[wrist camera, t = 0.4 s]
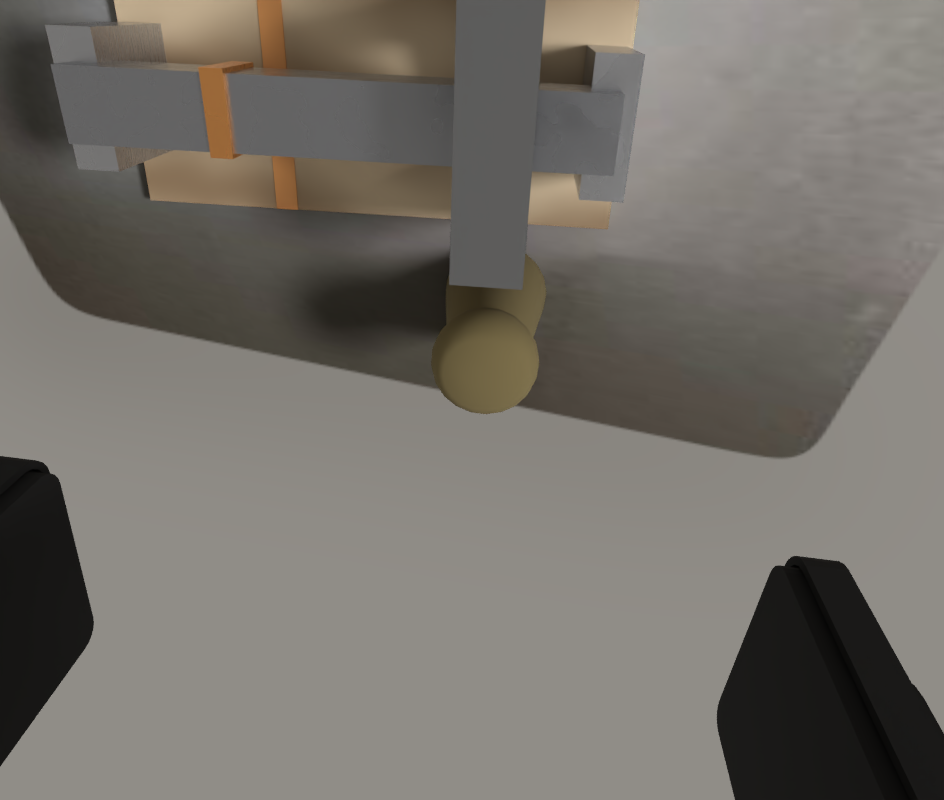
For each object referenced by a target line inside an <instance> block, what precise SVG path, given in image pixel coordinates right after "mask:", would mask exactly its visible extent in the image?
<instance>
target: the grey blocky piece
mask: <svg viewBox="0 0 944 800" xmlns="http://www.w3.org/2000/svg"><path fill="white" fill-rule="evenodd" d="M45 27H46V32H47V36H48V40H49V45H50V49H51V53H52V58H53V62H54V64H50V65H51V69H52V73H53V78H54V82H55V86H56V91H57V95H58V99H59V103H60V108H61V112H62V116H63V121H64V125H65V129H66V133H67V138H68V142H69V144H73V148H74V153H75V157H76V161H77V166H78V169H87V170H103V171H122V170H124V169H127V168H130V167H132V166H135V165H137V164H140V163H142V162H145V161H147V160H150V159H152V158H155V157H157V156H160V155H163V154H165V153H168V152H170V151H173V150H181V151H198V152H210V156H211V158H220V159H235V158H237V157H239V156H241V155H243V154H248V155H265V156H282V157H298V158H315V159H332V160H349V161H365V162H382V163H399V164H416V165H433V166H449V167H452V154H453V115H454V78H445V77H426V76H407V75H388V74H369V73H350V72H331V71H312V70H293V69H274V68H255V67H254V66H253V62H241V61H229V62H223V63H218V64H212V65H198V64H179V63H167V60H166V54H165V48H164V41H163V35H162V29H161V23H140V22H99V23H73V24H46V25H45ZM644 58H645V54H642V53H640V52H638V51H636V50H634V49H632V48H630V47H623V46H603V45H587V47H586V56H585V66H584V75H583V84H582V85H577V84H558V83H539V91H538V103H537V116H536V128H535V141H534V153H533V165H532V171H533V172H550V173H567V174H574V178H575V183H576V188H577V193H578V198H579V200H590V201H606V202H622V203H623V201H624V194H625V187H626V181H627V174H628V167H629V160H630V153H631V146H632V140H633V133H634V126H635V119H636V112H637V106H638V99H639V92H640V85H641V78H642V72H643V65H644Z"/></svg>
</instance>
